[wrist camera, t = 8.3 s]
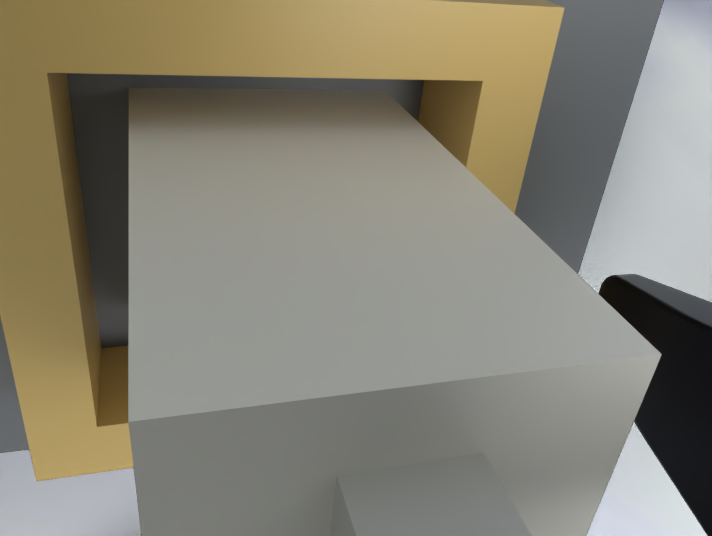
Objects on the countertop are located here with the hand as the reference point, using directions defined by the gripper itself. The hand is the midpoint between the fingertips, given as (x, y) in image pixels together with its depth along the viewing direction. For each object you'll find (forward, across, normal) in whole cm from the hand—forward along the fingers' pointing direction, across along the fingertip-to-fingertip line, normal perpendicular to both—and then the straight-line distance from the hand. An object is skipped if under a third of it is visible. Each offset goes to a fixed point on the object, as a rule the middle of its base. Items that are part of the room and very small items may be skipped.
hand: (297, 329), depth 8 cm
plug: (+4, 0, 0) cm, 4 cm away
